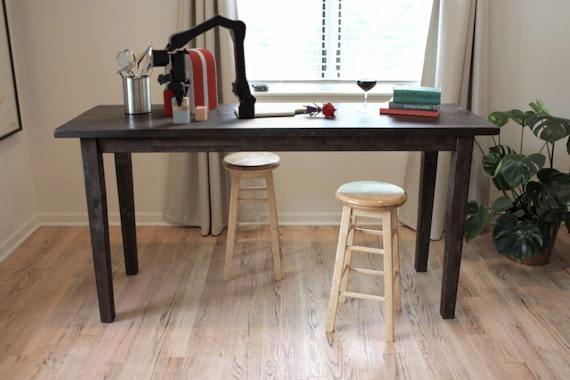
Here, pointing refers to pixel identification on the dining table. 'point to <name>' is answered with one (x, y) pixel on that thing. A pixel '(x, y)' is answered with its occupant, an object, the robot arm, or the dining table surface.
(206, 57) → the striped red arch
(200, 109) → the terracotta block
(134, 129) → the dining table surface
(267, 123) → the dining table surface
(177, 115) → the gray block
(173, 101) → the maple block
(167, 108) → the beverage can
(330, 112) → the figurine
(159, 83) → the robot arm
